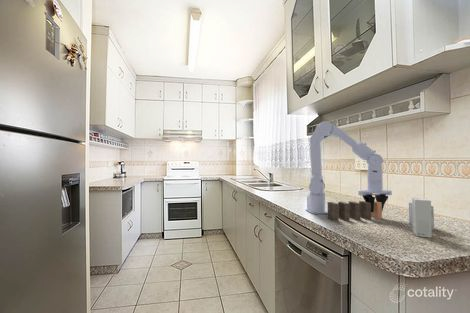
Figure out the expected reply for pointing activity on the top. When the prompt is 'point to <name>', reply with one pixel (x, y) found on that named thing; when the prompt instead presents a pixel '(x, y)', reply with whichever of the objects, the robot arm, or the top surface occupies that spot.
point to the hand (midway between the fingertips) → (375, 211)
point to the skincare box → (421, 217)
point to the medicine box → (411, 216)
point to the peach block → (377, 210)
